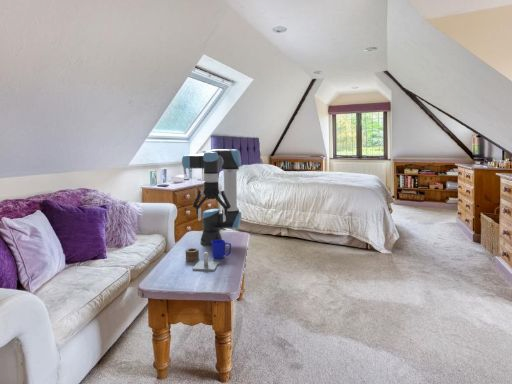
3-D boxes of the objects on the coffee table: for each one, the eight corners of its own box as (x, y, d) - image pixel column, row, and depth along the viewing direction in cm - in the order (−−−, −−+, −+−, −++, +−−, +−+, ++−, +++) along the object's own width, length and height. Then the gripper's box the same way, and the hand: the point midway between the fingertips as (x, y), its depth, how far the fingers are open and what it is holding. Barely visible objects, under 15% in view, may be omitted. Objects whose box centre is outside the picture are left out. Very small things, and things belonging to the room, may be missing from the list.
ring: (188, 257, 198) (188, 248, 197) (199, 257, 197) (199, 248, 196) (184, 261, 191) (184, 251, 190) (196, 262, 190) (196, 252, 189)
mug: (229, 260, 193) (229, 244, 191) (209, 259, 195) (209, 243, 194) (232, 255, 201) (232, 240, 199) (214, 254, 203) (213, 239, 202)
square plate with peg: (198, 262, 190) (198, 249, 188) (218, 263, 188) (218, 249, 187) (192, 270, 178) (192, 256, 177) (214, 271, 176) (213, 257, 175)
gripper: (186, 181, 170) (187, 221, 173) (232, 182, 166) (233, 223, 169) (191, 180, 177) (192, 218, 180) (235, 181, 173) (236, 219, 177)
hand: (212, 220), depth 175 cm, fingers open, 13 cm apart
